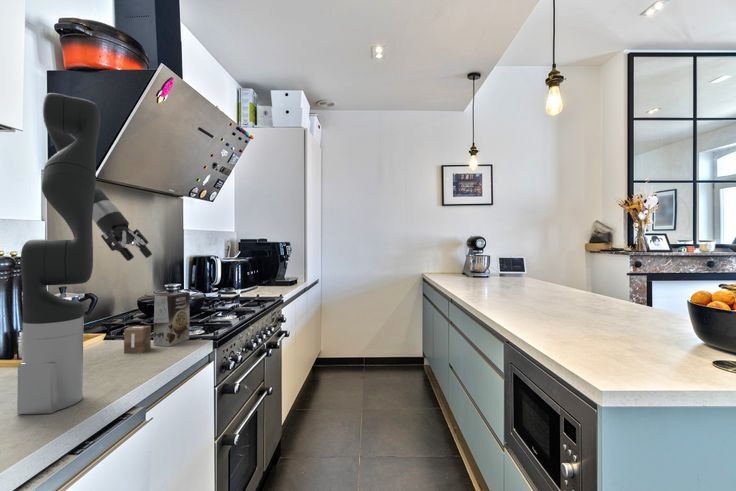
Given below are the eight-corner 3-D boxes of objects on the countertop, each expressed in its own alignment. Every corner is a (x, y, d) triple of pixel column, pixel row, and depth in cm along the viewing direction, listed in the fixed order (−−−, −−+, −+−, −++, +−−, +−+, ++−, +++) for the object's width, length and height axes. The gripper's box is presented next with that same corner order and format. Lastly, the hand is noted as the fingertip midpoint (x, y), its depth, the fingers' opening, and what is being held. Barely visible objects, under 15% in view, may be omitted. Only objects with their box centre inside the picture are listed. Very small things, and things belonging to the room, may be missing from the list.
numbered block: (141, 353, 104) (141, 329, 104) (123, 353, 104) (123, 329, 104) (150, 348, 109) (150, 325, 109) (133, 348, 109) (133, 325, 109)
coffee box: (170, 346, 111) (170, 295, 111) (152, 345, 112) (153, 295, 112) (190, 339, 120) (190, 292, 120) (173, 338, 121) (174, 291, 121)
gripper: (98, 210, 105) (133, 252, 106) (132, 211, 119) (163, 248, 120) (80, 225, 106) (115, 267, 106) (116, 224, 120) (146, 261, 120)
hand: (140, 257), depth 113 cm, fingers open, 8 cm apart
